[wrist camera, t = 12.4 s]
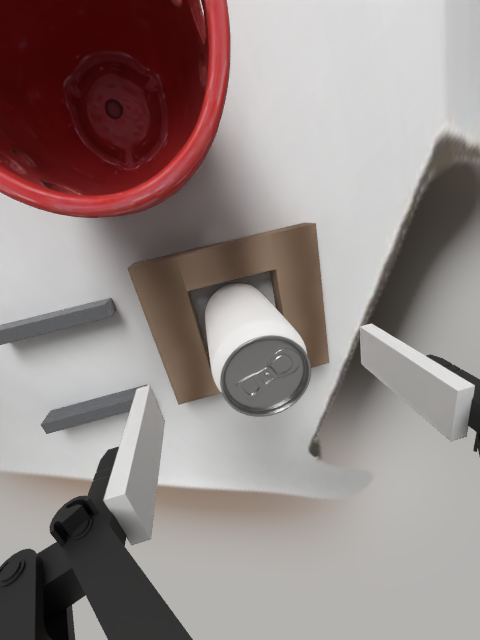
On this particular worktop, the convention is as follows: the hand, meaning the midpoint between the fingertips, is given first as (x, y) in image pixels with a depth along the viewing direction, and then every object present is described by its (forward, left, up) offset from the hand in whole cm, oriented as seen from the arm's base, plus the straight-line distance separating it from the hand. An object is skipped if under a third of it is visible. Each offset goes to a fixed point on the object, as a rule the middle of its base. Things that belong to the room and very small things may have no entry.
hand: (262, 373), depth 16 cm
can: (0, 0, -12) cm, 12 cm away
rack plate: (0, 0, -12) cm, 12 cm away
